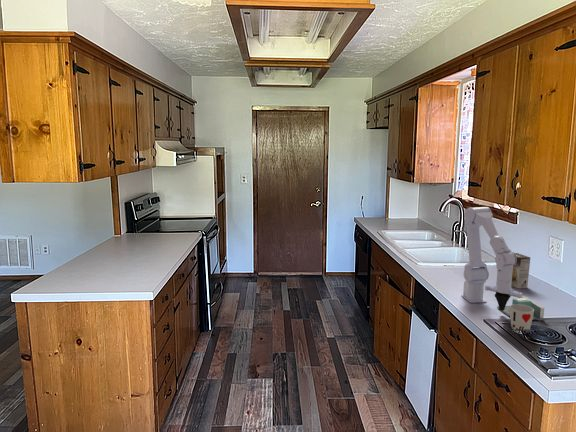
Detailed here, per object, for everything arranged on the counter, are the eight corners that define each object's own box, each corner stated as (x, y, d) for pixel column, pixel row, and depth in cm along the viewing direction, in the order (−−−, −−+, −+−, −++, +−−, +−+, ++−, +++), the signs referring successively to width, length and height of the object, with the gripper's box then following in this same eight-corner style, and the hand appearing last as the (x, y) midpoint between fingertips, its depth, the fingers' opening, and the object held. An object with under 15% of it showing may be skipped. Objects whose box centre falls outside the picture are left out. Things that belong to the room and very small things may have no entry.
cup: (507, 333, 166) (509, 309, 165) (509, 326, 173) (511, 302, 171) (530, 338, 162) (533, 313, 160) (532, 330, 168) (534, 306, 167)
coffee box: (504, 283, 225) (506, 253, 222) (514, 282, 226) (517, 252, 223) (517, 288, 216) (520, 257, 213) (528, 287, 217) (530, 256, 215)
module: (511, 309, 187) (512, 298, 186) (524, 308, 188) (525, 297, 187) (517, 313, 183) (518, 301, 182) (530, 312, 184) (531, 300, 183)
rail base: (497, 308, 191) (498, 296, 190) (523, 307, 192) (524, 295, 191) (515, 321, 177) (516, 308, 176) (543, 320, 178) (544, 307, 177)
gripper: (526, 281, 179) (523, 312, 181) (490, 273, 189) (488, 302, 192) (519, 285, 174) (517, 316, 177) (483, 277, 185) (481, 307, 187)
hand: (501, 309), depth 184 cm, fingers closed
